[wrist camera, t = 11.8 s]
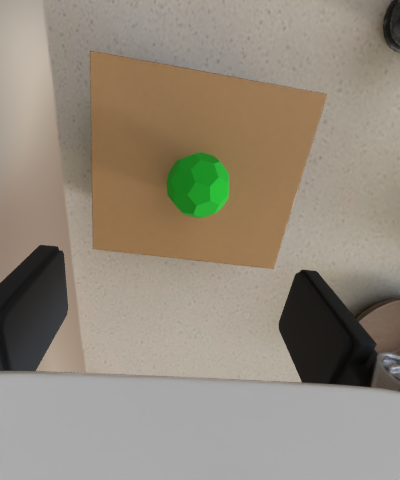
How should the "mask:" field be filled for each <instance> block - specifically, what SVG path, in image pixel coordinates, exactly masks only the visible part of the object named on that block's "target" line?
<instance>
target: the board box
mask: <svg viewBox="0 0 400 480" xmlns="http://www.w3.org/2000/svg"><path fill="white" fill-rule="evenodd" d="M90 86H91V151H92V217H93V249H97V250H106V251H115V252H124V253H133V254H142V255H151V256H160V257H169V258H178V259H188V260H197V261H206V262H215V263H224V264H233V265H242V266H251V267H260V268H269V269H274V266H275V263H276V260H277V256H278V253H279V250H280V247H281V243H282V240H283V237H284V234H285V230H286V227H287V224H288V221H289V217H290V214H291V211H292V208H293V204H294V201H295V198H296V195H297V191H298V188H299V185H300V182H301V178H302V175H303V172H304V169H305V165H306V162H307V159H308V156H309V152H310V149H311V146H312V143H313V139H314V136H315V133H316V130H317V126H318V123H319V120H320V117H321V113H322V110H323V107H324V104H325V101H326V97H327V94H323V93H318V92H312V91H307V90H302V89H296V88H291V87H285V86H280V85H274V84H269V83H263V82H258V81H253V80H247V79H242V78H236V77H231V76H225V75H220V74H215V73H209V72H204V71H198V70H193V69H187V68H182V67H176V66H171V65H166V64H160V63H155V62H149V61H144V60H138V59H133V58H128V57H122V56H117V55H111V54H106V53H100V52H95V51H90ZM199 152H202V153H206V154H209V155H213V156H214V157H216V158H217V159H218V160H219V161H220V162H221V163H222V164H223V166H224V167H225V168H226V170H227V171H228V173H229V197H228V200H227V201H226V203H225V204H224V205H223V207H222V208H221V209H220V210H219V211H218V212H216V213H214V214H212V215H209V216H206V217H203V218H195V217H191V216H187V215H184V214H183V213H182V212H181V211H180V210H179V209H178V208H177V207H176V205H175V204H174V203H173V202H172V201H171V199H170V198H169V197H168V195H167V184H166V181H167V177H168V173H169V172H170V170H171V168H172V167H173V165H174V163H175V162H176V161H178V160H180V159H182V158H185V157H187V156H190V155H192V154H195V153H199Z"/></svg>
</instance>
